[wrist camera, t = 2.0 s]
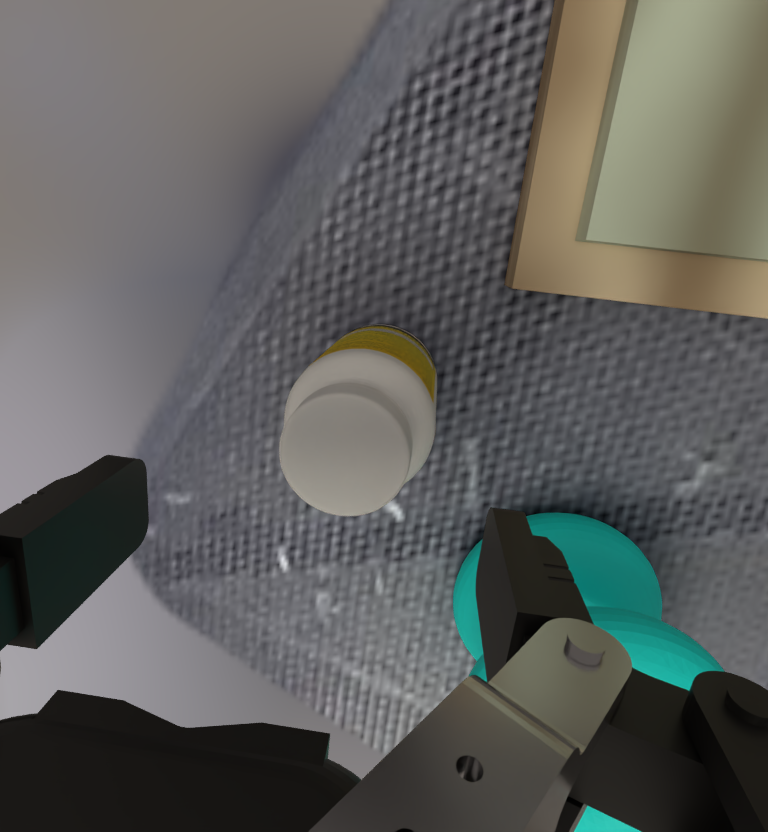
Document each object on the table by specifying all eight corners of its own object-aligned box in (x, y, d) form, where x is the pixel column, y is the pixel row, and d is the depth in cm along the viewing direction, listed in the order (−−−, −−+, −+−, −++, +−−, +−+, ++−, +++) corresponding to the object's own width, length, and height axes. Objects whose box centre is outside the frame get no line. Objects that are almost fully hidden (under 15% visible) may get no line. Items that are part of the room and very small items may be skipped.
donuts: (421, 684, 17) (740, 618, 15) (427, 530, 27) (623, 478, 25) (505, 884, 20) (787, 850, 18) (483, 679, 29) (665, 642, 27)
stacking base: (994, -91, 17) (1152, -188, 13) (835, 323, 22) (920, 338, 18) (575, -119, 18) (612, -218, 14) (504, 284, 22) (518, 290, 19)
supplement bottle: (319, 325, 24) (244, 370, 15) (435, 319, 23) (434, 363, 14) (329, 434, 25) (267, 537, 16) (438, 431, 25) (439, 537, 16)
